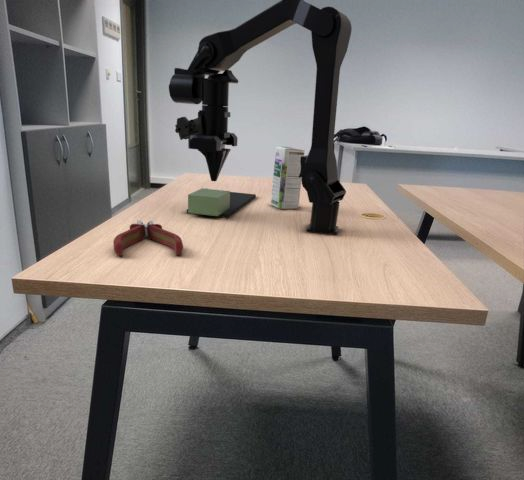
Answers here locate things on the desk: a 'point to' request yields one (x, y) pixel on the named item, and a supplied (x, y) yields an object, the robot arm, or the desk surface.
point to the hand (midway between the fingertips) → (213, 181)
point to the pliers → (153, 233)
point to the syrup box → (286, 178)
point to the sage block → (208, 202)
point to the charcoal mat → (235, 203)
